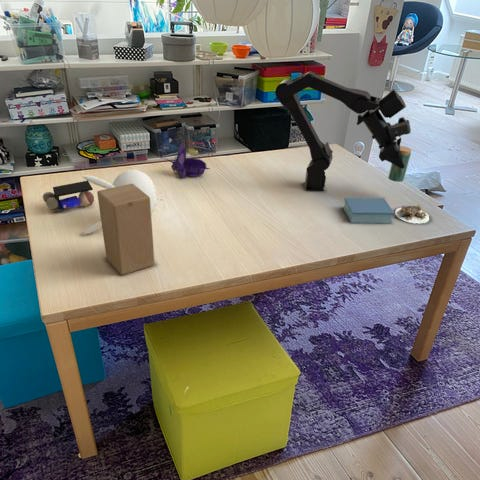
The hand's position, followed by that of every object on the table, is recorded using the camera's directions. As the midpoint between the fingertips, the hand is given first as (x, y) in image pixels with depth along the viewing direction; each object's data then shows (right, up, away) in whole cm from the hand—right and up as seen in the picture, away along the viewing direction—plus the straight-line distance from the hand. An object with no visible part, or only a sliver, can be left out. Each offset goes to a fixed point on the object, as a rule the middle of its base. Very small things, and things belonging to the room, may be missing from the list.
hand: (403, 164), depth 169 cm
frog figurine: (+2, -18, -1) cm, 18 cm away
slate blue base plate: (-13, -18, -2) cm, 22 cm away
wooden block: (-85, -37, -32) cm, 98 cm away
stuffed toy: (-91, -24, -16) cm, 95 cm away
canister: (-2, -4, +3) cm, 5 cm away
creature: (-75, +2, +18) cm, 77 cm away
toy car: (-110, -17, -8) cm, 111 cm away
